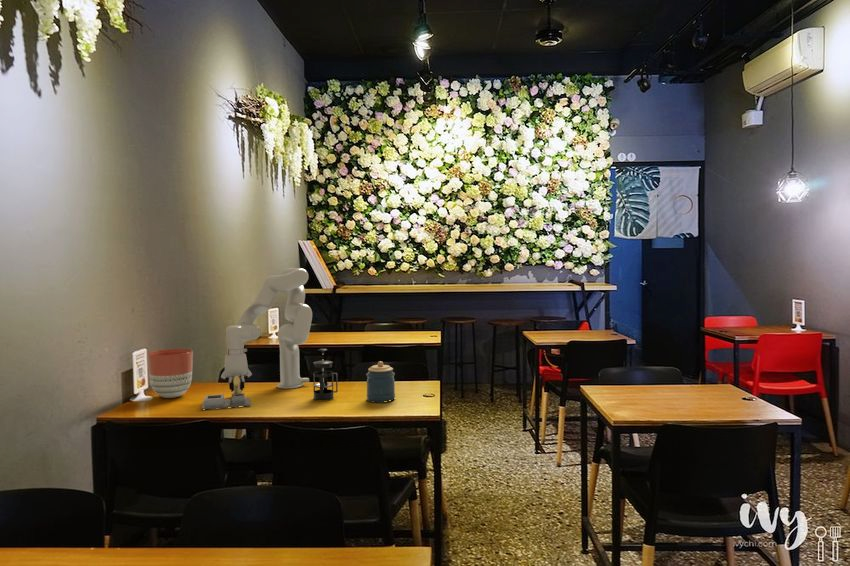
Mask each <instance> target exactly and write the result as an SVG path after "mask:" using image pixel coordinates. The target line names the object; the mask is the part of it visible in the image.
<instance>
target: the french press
mask: <svg viewBox="0 0 850 566" xmlns="http://www.w3.org/2000/svg"><path fill="white" fill-rule="evenodd" d="M318 351H319V352H321V354H325V352H326V351H328V349H327V348H320V349H318ZM312 363H313V364H314V365H313V366H314V368H315V369H320V371H315V372H313V373H312V375H313V378H312V379H313V381H312V382H313V397H312V398H313V400H314V401H316V400H328V401H331V400H330V399H332V400H334V399H333V398H335V397H334V393H337V392H338V387H339V386H338V373H337V372H333V371H330V370H324V369H329V368H332V367H333V363H334V361H331V360H317V361H313V362H312ZM334 375H335V390H334ZM330 377H331V383H330V382H328V378H330ZM315 378H319V380H318V382H319V383H315V382H316V381H315V380H316V379H315ZM317 388H318V389H317ZM328 388H332V389H328Z"/></svg>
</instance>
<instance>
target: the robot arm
mask: <svg viewBox="0 0 850 566" xmlns="http://www.w3.org/2000/svg"><path fill="white" fill-rule="evenodd" d="M308 280H309V273H308V271H307V270H306V269H304V268H301V267H299V268H298V267H287V268H285V269H283V270H282V271H281V274H280V275H279V274H278V275H277V274H273V275H268V276H267V277H266V278H265V279H264V281H263V282H262V285H261V287H260V289H259V290H258V293H257V294H256V297H255V299H254V301H253V302H252V303H251V304H250V305H249V306H248V307H247V308H246V310H245V311H243V312H242V314H241V316H240V318H239V320H238V322H237V324H236V325H229V326H227V327H226V330H225V333H226V334H225V335H226V354H225V357H224V358H225V359H224V369H223V370H224V371H223V372H222V374H221V376H220V378H221V379H223V380H225V381H226V382H227V383H228V384H229V387H228V388H229V390H230V392H232V393H233V383H232V377H233V376H241V390H242V391H244V389H245V382H246V381H247V379H248V378H250V377H251V376H253V373H252V372H251V370H250V369H249V368H248V367H249V366H248V360H247V354H246V352H248V348H244V346H245V345H244V342H245V341H248V340H249V341H253V340H257V339H259V337H260V336H261V335H262V329H261V327H260V326H259V325H258V324H255V321H256V320H257V319H258V318H259V317H260V316H261V315H263V314H265V313H267V312H268V311H270V310H271V309H272V307H273V304H274V302H275V299H276V298H277V296H278V294H279V293H281V294H283V293H287V292H288V294H287V300H286V305H285V309H284V318H285V320H286V321H289V322H292V323H293V324H292V323H286V324H282V325H281V326H280V327H279V329H278V331H277V339H278V340H277V341H278V345H279V346H278V347H279V372H280V373H279V375H280V376H279V377H280V378H279V379H280V382H279V383H277V386H276V387H277V388H279V389H284V390H285V389H286V390H289V389H299V388H301V387H303V385H304V383H309V382H310V378H309V377H301V375H300V348H299V345H303V344H304V343H306V342H307V341H308V338H309V336H310V330H311V325H312V320H313V311H312V308H311V307H310V306H309V305H308V304H306V303H305V300H306V290H305V287H304V285H306V284H307V282H308Z"/></svg>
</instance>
